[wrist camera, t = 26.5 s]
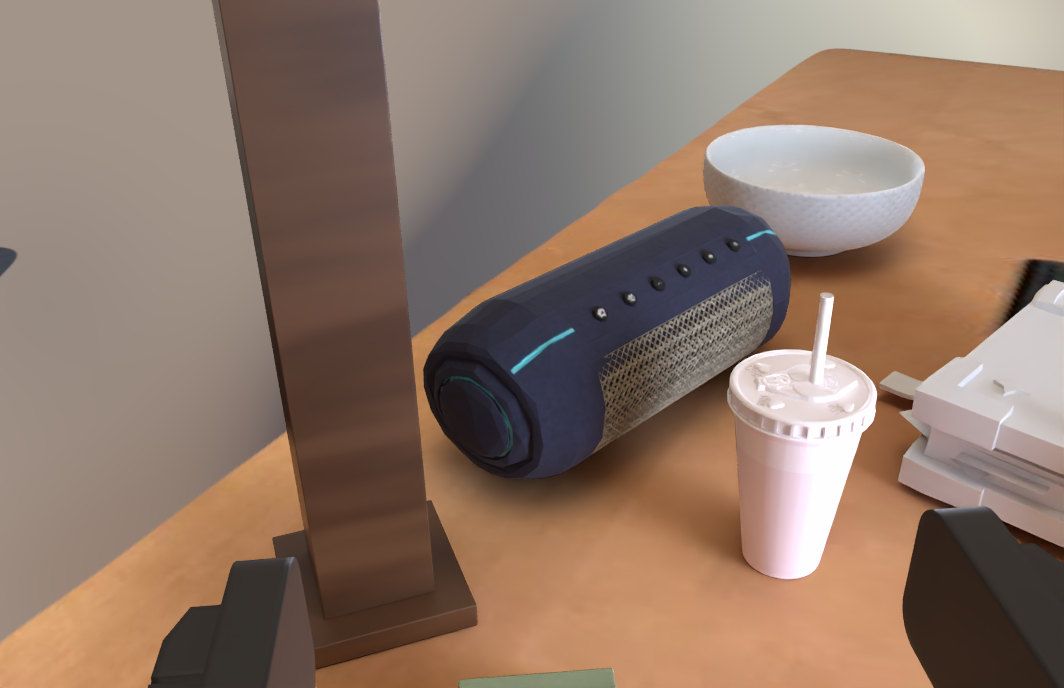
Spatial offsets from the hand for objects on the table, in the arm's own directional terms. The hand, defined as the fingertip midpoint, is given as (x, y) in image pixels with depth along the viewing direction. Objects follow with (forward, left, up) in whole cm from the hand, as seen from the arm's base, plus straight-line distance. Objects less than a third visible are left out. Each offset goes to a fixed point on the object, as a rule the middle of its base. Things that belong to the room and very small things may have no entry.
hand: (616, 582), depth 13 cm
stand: (+22, +14, -24) cm, 35 cm away
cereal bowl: (+68, -5, -24) cm, 73 cm away
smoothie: (+29, -4, -24) cm, 38 cm away
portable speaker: (+41, +6, -24) cm, 48 cm away
